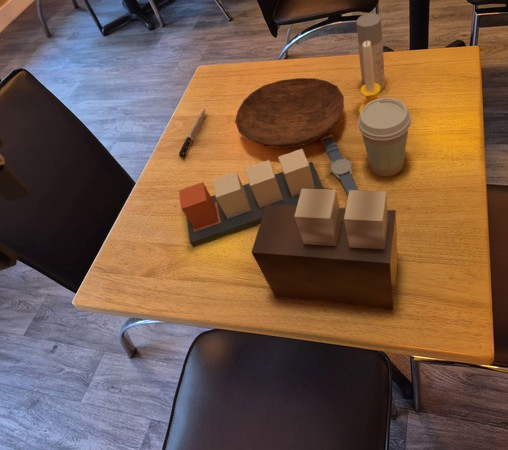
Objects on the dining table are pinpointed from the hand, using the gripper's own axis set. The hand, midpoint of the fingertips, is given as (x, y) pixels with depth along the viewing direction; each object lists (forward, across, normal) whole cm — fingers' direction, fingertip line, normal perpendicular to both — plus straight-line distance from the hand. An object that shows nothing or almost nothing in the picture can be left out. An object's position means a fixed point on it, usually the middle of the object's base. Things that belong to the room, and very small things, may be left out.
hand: (14, 228), depth 41 cm
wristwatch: (+32, -23, +36) cm, 53 cm away
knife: (+32, -47, +11) cm, 58 cm away
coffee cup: (+32, -21, +44) cm, 58 cm away
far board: (+32, -22, +19) cm, 43 cm away
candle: (+32, -36, +47) cm, 67 cm away
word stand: (+32, -2, +28) cm, 43 cm away
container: (+32, -43, +50) cm, 73 cm away
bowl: (+32, -39, +31) cm, 59 cm away
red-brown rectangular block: (+30, -22, +10) cm, 39 cm away
